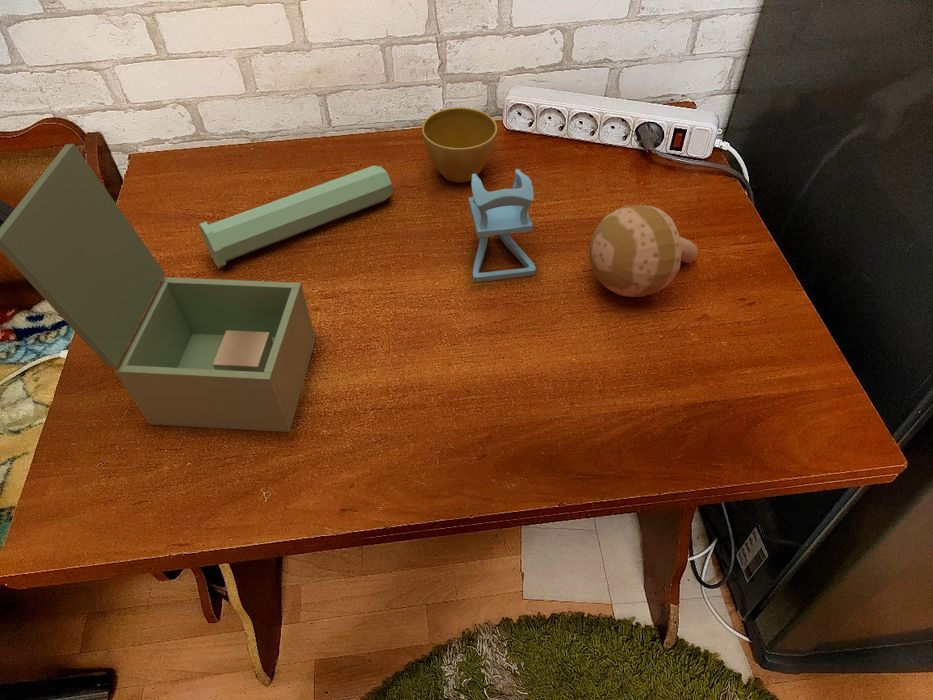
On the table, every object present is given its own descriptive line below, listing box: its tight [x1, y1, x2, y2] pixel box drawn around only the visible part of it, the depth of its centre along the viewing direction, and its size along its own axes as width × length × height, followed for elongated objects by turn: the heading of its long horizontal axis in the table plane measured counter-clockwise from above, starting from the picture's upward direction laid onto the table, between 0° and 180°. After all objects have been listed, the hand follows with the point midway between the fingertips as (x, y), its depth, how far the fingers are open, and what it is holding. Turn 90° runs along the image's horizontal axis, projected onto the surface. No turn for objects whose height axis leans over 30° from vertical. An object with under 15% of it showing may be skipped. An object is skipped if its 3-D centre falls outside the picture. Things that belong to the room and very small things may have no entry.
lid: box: [0, 143, 165, 369], centre depth 61 cm, size 16×13×1 cm
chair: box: [468, 168, 537, 283], centre depth 81 cm, size 8×8×12 cm
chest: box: [114, 276, 317, 433], centre depth 70 cm, size 15×13×9 cm
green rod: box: [198, 165, 393, 269], centre depth 88 cm, size 6×6×25 cm
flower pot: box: [421, 107, 498, 184], centre depth 94 cm, size 10×10×7 cm
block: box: [213, 330, 273, 372], centre depth 71 cm, size 5×5×5 cm
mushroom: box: [588, 204, 699, 298], centre depth 80 cm, size 10×11×15 cm
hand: (20, 231), depth 59 cm, fingers closed
